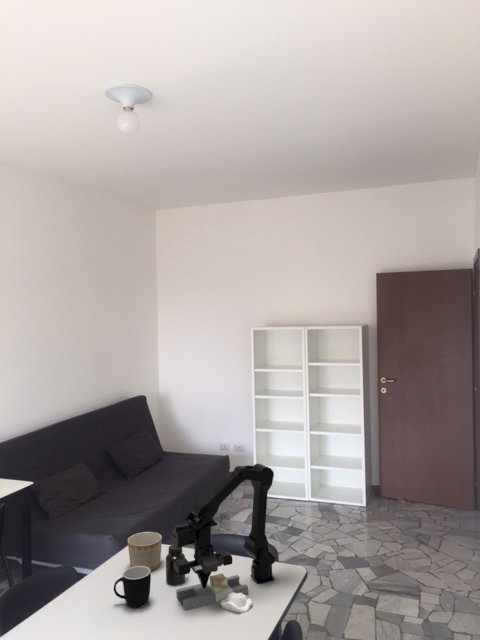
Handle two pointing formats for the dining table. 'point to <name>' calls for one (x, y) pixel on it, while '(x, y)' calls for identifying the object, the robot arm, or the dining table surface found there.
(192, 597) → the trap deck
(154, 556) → the planter
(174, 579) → the supplement bottle
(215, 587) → the birch block
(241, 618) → the dining table surface
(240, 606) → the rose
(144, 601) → the mug
